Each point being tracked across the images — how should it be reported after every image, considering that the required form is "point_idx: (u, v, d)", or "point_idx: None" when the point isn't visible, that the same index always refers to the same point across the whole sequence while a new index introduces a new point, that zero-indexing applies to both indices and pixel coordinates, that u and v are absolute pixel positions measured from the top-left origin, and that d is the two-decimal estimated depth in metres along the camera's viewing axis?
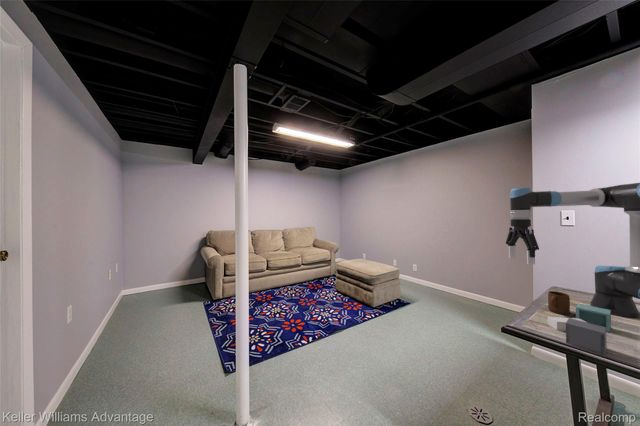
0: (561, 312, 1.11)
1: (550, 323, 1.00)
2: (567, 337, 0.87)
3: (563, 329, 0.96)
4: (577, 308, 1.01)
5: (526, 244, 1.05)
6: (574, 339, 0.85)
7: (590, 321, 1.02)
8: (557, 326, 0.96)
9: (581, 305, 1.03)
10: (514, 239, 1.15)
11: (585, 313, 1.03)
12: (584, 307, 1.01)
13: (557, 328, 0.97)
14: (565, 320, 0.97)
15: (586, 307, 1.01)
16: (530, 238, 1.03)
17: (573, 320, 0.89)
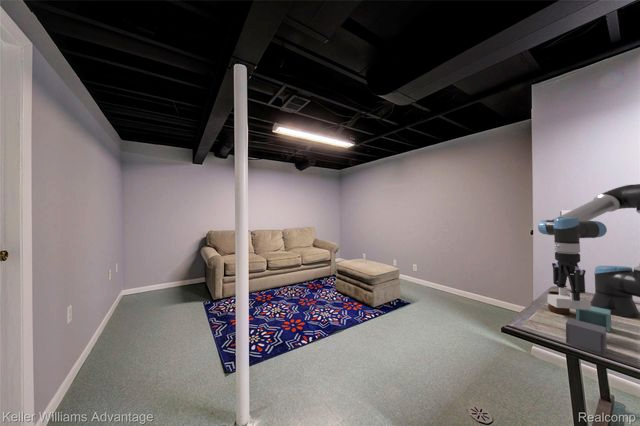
0: (561, 312, 1.11)
1: (550, 301, 1.00)
2: (567, 337, 0.87)
3: (563, 306, 0.96)
4: None
5: (571, 284, 0.95)
6: (574, 339, 0.85)
7: (590, 321, 1.02)
8: (556, 303, 0.97)
9: None
10: (563, 277, 1.00)
11: (585, 313, 1.03)
12: None
13: (557, 305, 0.97)
14: (565, 297, 0.97)
15: None
16: (578, 280, 0.92)
17: (573, 320, 0.89)
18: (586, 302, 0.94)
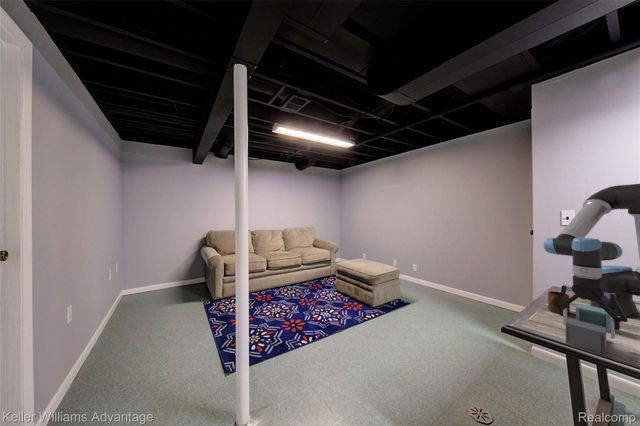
0: None
1: None
2: (567, 337, 0.87)
3: None
4: (577, 308, 1.01)
5: (609, 313, 0.84)
6: (574, 339, 0.85)
7: (590, 321, 1.02)
8: None
9: (581, 305, 1.03)
10: (572, 301, 0.92)
11: (585, 313, 1.03)
12: (584, 307, 1.01)
13: None
14: None
15: (586, 307, 1.01)
16: (619, 306, 0.82)
17: (573, 320, 0.89)
18: None
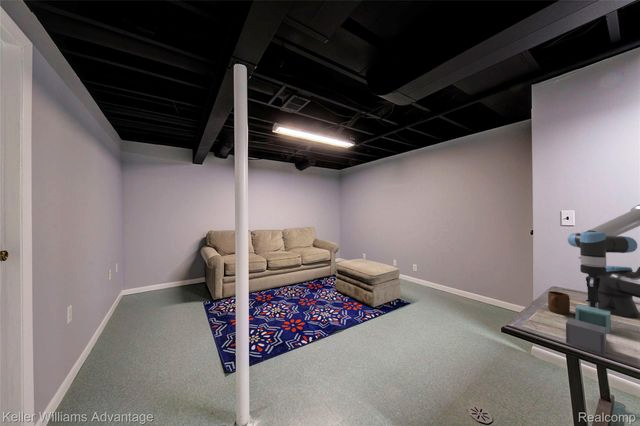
0: (561, 312, 1.11)
1: None
2: (567, 337, 0.87)
3: None
4: (577, 309, 1.00)
5: None
6: (574, 339, 0.85)
7: (590, 322, 1.01)
8: None
9: (581, 306, 1.02)
10: None
11: (585, 314, 1.02)
12: (584, 308, 1.00)
13: None
14: None
15: (586, 308, 1.00)
16: (589, 291, 1.00)
17: (573, 320, 0.89)
18: None
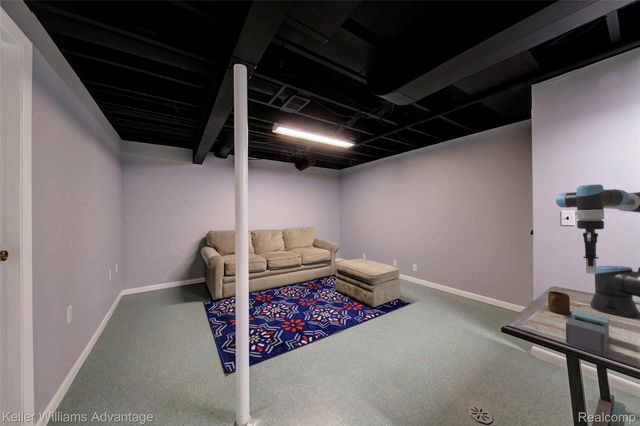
0: (561, 312, 1.11)
1: None
2: (567, 337, 0.87)
3: None
4: (573, 315, 0.94)
5: None
6: (574, 339, 0.85)
7: None
8: None
9: (578, 312, 0.96)
10: None
11: None
12: (580, 314, 0.94)
13: None
14: None
15: (582, 314, 0.94)
16: (586, 246, 0.95)
17: (573, 320, 0.89)
18: None
